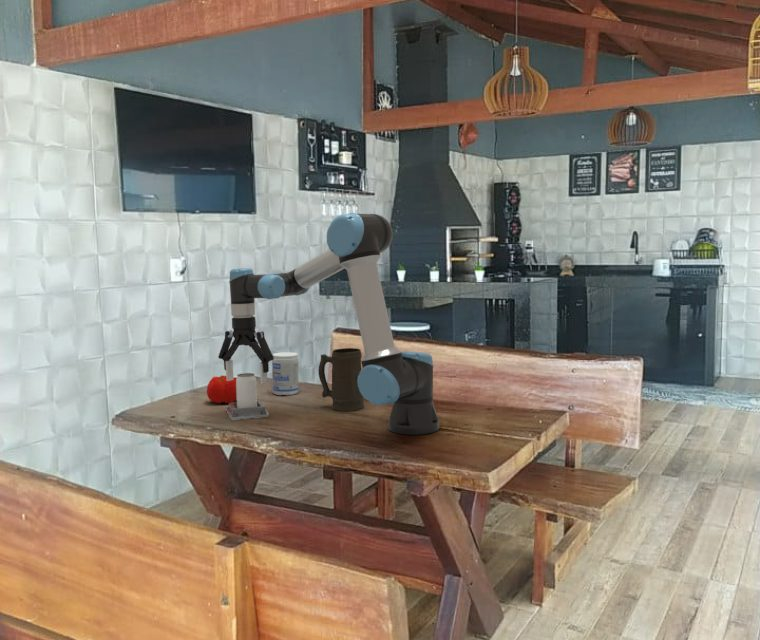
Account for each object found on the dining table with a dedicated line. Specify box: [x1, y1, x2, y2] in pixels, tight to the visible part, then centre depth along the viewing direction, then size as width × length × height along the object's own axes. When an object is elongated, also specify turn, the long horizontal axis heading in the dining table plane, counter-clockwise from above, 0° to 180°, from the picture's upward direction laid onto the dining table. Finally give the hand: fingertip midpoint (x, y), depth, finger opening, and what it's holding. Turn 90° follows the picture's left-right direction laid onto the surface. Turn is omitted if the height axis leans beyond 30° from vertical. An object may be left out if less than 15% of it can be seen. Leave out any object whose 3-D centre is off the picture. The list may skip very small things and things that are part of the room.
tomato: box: [206, 375, 237, 404], centre depth 253 cm, size 11×12×9 cm
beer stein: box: [317, 347, 365, 412], centre depth 242 cm, size 15×11×20 cm
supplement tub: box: [271, 351, 300, 396], centre depth 266 cm, size 10×10×15 cm
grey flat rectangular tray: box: [225, 399, 270, 421], centre depth 236 cm, size 14×12×3 cm
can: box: [236, 372, 258, 409], centre depth 236 cm, size 6×6×12 cm
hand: (246, 381), depth 235 cm, fingers open, 13 cm apart
